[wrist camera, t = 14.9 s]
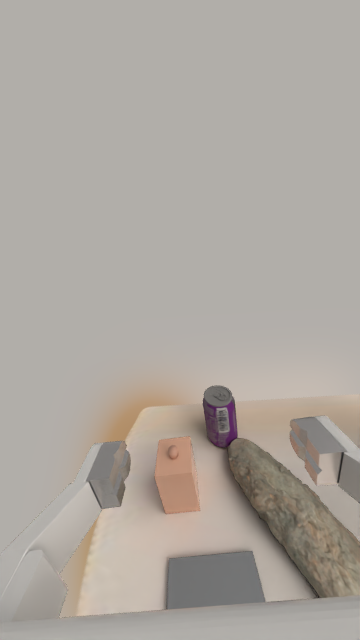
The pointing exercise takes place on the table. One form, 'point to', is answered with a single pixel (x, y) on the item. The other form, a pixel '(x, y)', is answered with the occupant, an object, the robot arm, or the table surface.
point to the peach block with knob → (177, 475)
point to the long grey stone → (298, 521)
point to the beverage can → (220, 415)
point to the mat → (213, 581)
